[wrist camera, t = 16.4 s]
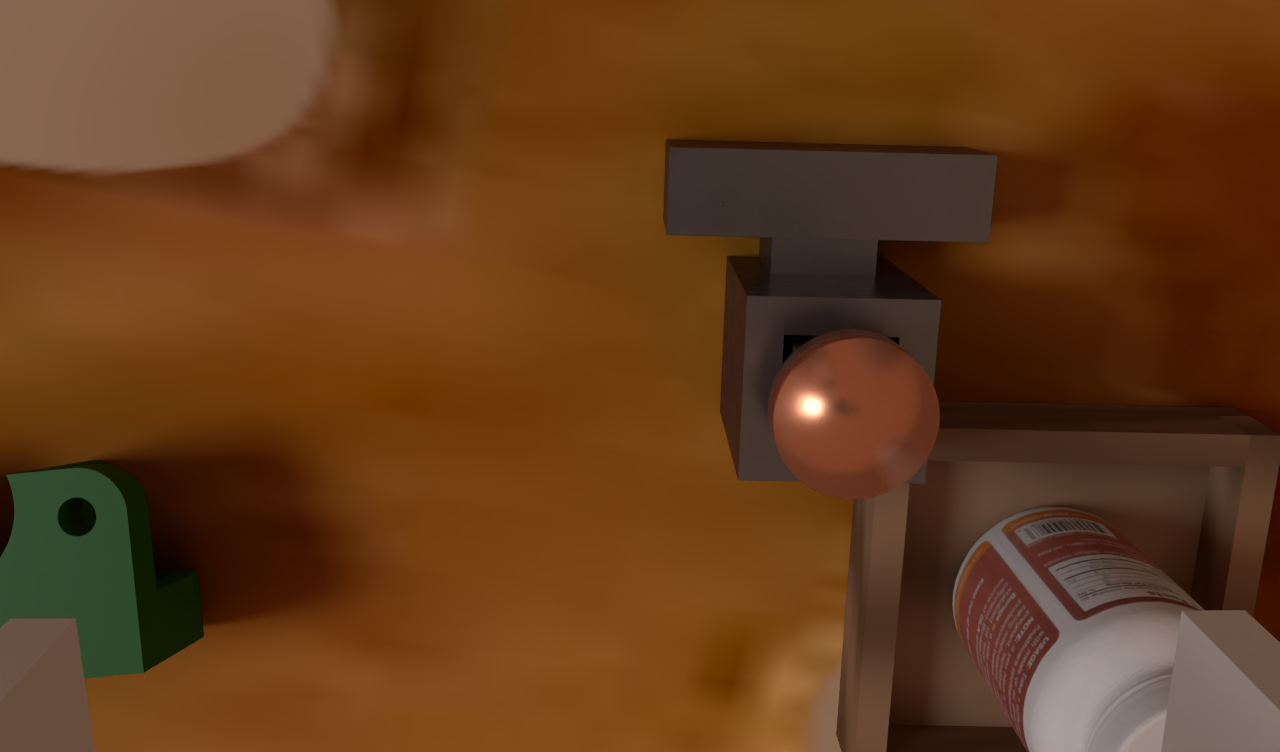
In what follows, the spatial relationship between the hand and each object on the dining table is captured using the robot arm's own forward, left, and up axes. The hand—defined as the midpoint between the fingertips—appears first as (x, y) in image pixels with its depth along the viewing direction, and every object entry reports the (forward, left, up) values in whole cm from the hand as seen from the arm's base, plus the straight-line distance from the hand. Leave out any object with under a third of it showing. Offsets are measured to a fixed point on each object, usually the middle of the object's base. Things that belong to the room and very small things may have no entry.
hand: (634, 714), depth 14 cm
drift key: (+1, +5, -22) cm, 22 cm away
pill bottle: (+9, +14, -23) cm, 28 cm away
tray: (+9, +13, -24) cm, 29 cm away
